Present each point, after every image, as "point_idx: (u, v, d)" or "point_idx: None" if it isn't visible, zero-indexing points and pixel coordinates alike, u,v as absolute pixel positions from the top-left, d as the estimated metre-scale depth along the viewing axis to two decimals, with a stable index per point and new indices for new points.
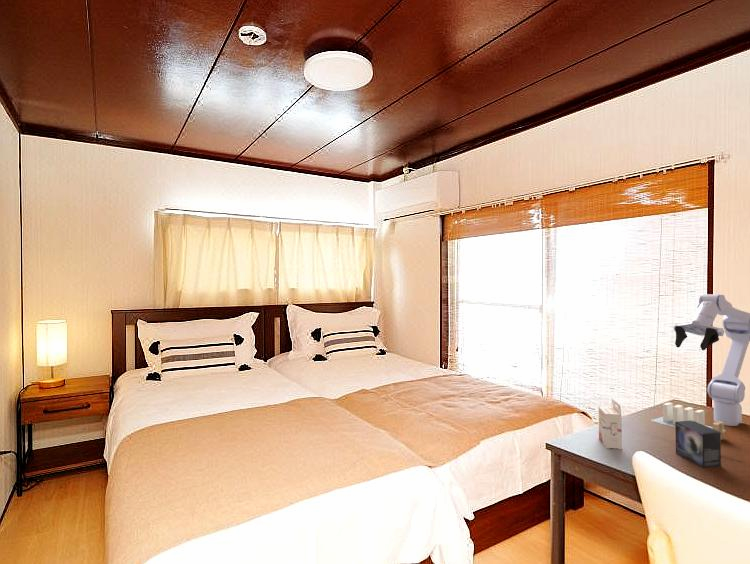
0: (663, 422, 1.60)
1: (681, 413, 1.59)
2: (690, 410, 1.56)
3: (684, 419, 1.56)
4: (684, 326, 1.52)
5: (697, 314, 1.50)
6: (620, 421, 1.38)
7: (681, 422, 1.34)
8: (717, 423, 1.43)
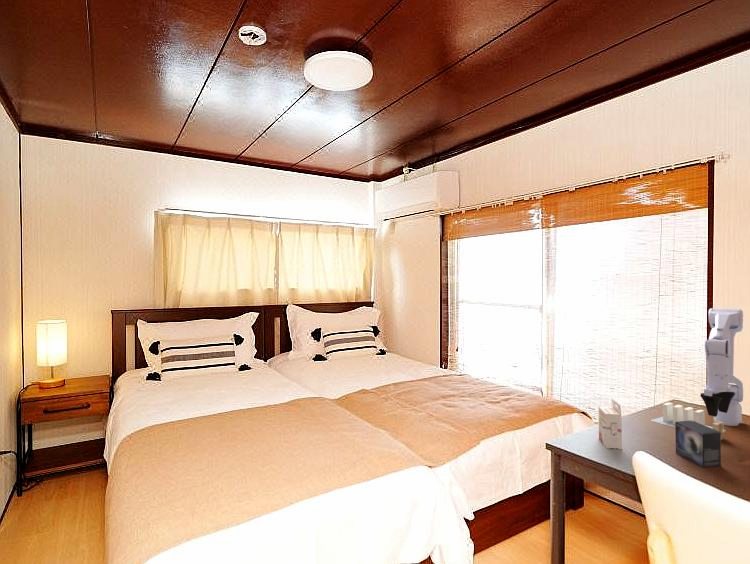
0: (663, 422, 1.60)
1: (681, 413, 1.59)
2: (690, 410, 1.56)
3: (684, 419, 1.56)
4: None
5: (725, 377, 1.40)
6: (620, 421, 1.38)
7: (681, 422, 1.34)
8: (717, 423, 1.43)
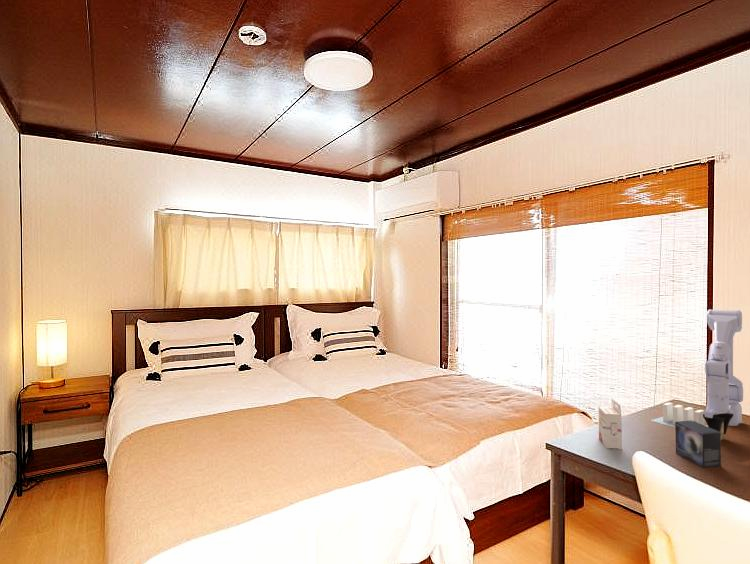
0: (663, 422, 1.60)
1: (681, 413, 1.59)
2: (690, 410, 1.56)
3: (684, 419, 1.56)
4: None
5: (726, 398, 1.41)
6: (620, 421, 1.38)
7: (681, 422, 1.34)
8: None
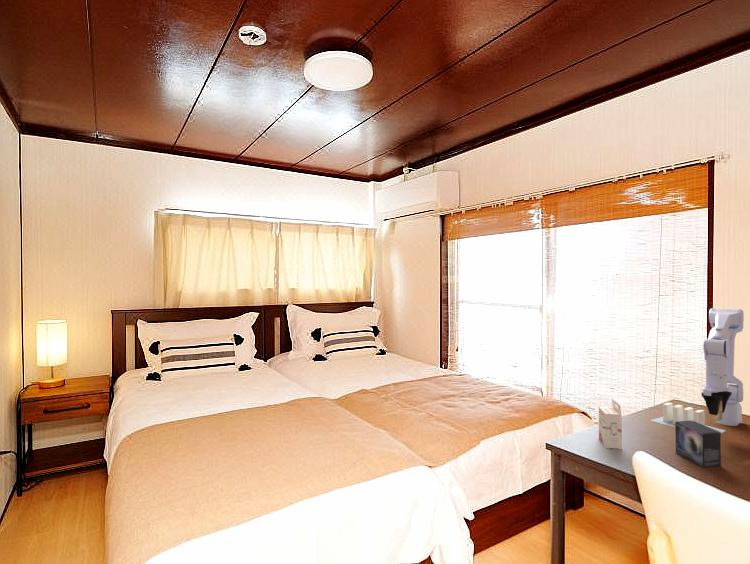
0: (663, 422, 1.60)
1: (681, 413, 1.59)
2: (690, 410, 1.56)
3: (684, 419, 1.56)
4: None
5: (724, 377, 1.42)
6: (620, 421, 1.38)
7: (681, 422, 1.34)
8: None
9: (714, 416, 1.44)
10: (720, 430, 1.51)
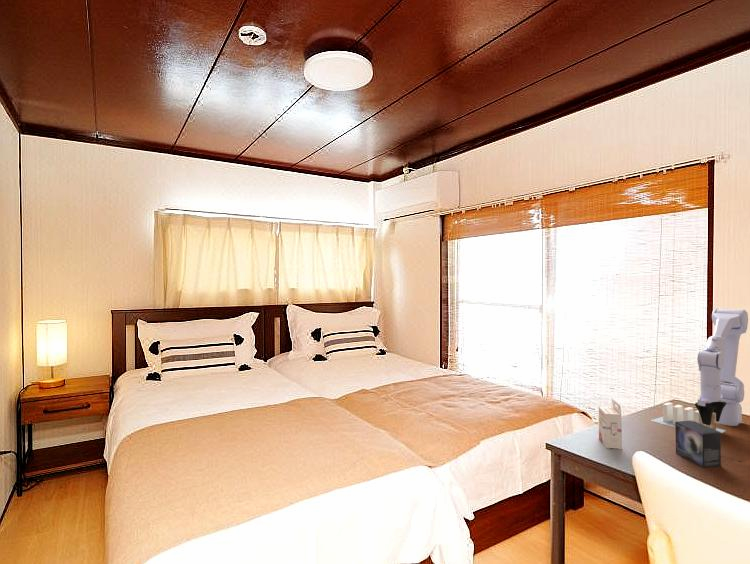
0: (663, 422, 1.60)
1: (681, 413, 1.59)
2: (690, 410, 1.56)
3: (684, 419, 1.56)
4: None
5: (718, 388, 1.47)
6: (620, 421, 1.38)
7: (681, 422, 1.34)
8: None
9: None
10: (720, 430, 1.51)
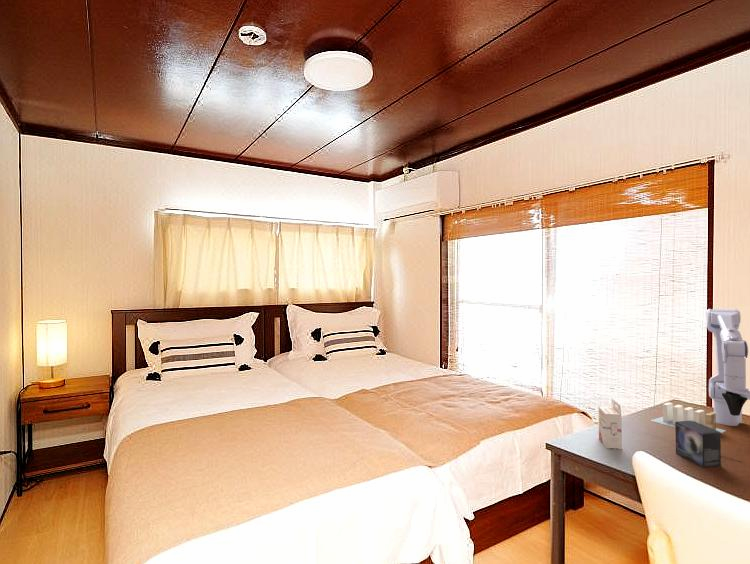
0: (663, 422, 1.60)
1: (681, 413, 1.59)
2: (690, 410, 1.56)
3: (684, 419, 1.56)
4: None
5: None
6: (620, 421, 1.38)
7: (681, 422, 1.34)
8: (710, 414, 1.50)
9: None
10: (720, 430, 1.51)
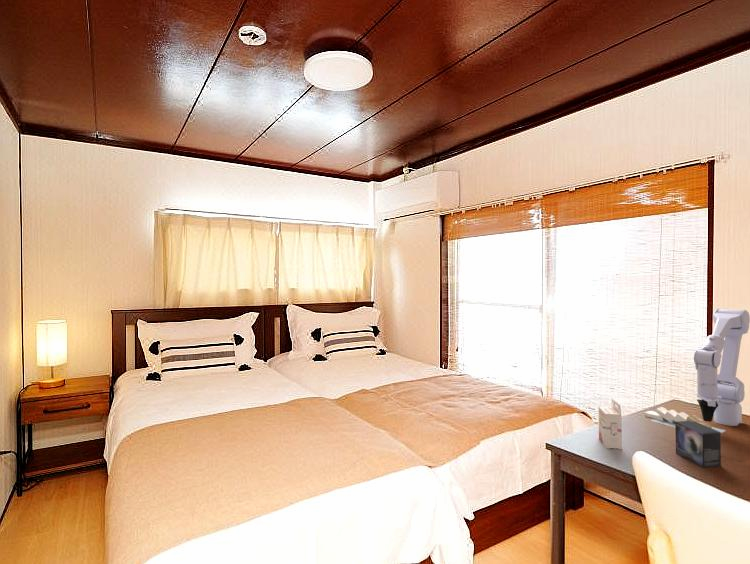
0: (663, 422, 1.60)
1: None
2: (670, 411, 1.61)
3: (675, 420, 1.58)
4: None
5: (717, 386, 1.49)
6: (620, 421, 1.38)
7: (681, 422, 1.34)
8: None
9: None
10: (720, 430, 1.51)
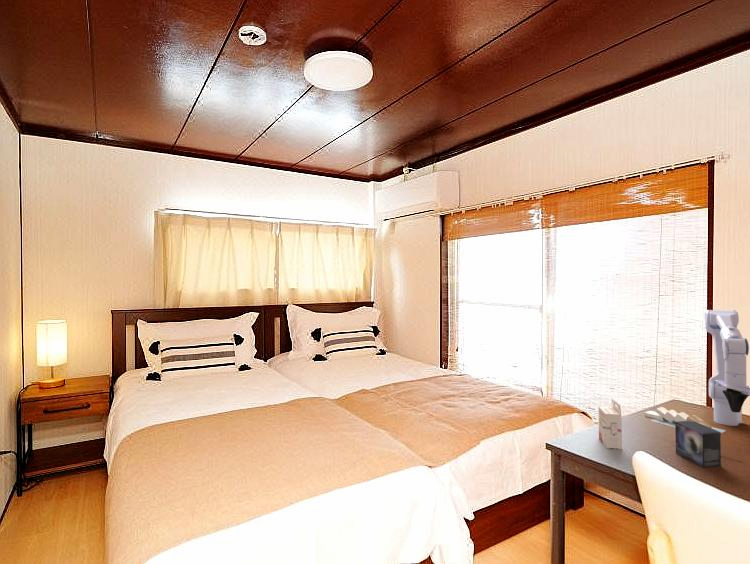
0: (663, 422, 1.60)
1: None
2: (670, 411, 1.61)
3: (675, 420, 1.58)
4: None
5: None
6: (620, 421, 1.38)
7: (681, 422, 1.34)
8: None
9: None
10: (720, 430, 1.51)
